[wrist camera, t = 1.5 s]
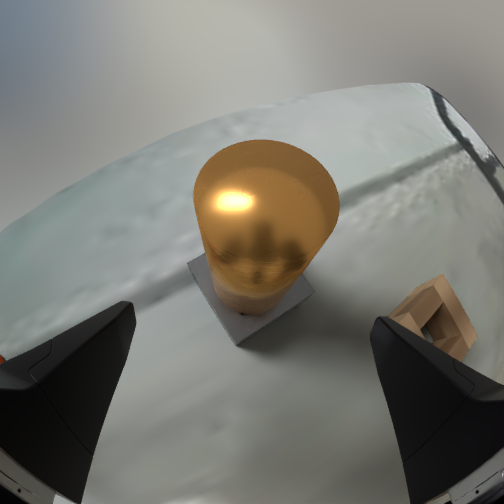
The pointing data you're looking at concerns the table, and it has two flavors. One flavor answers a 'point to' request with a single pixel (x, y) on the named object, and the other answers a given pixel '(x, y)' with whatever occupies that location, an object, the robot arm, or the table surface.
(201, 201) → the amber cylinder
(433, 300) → the wooden square ring
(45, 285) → the table surface
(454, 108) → the table surface
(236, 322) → the block
